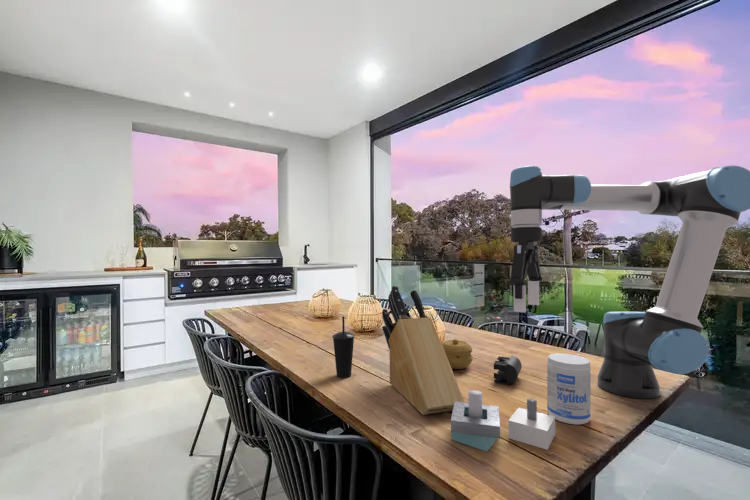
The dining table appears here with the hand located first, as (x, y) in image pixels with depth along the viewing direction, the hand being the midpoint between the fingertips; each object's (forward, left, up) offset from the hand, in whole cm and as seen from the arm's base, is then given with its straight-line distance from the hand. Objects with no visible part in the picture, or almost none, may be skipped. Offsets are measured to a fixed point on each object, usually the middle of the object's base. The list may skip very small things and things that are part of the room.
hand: (527, 308), depth 93 cm
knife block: (+30, +7, -27) cm, 41 cm away
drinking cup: (+57, +9, -27) cm, 64 cm away
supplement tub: (-9, -2, -27) cm, 28 cm away
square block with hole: (+6, +21, -24) cm, 32 cm away
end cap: (+11, -19, -27) cm, 35 cm away
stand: (-4, +13, -27) cm, 30 cm away
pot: (+30, -21, -27) cm, 45 cm away
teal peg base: (+6, +21, -27) cm, 34 cm away
